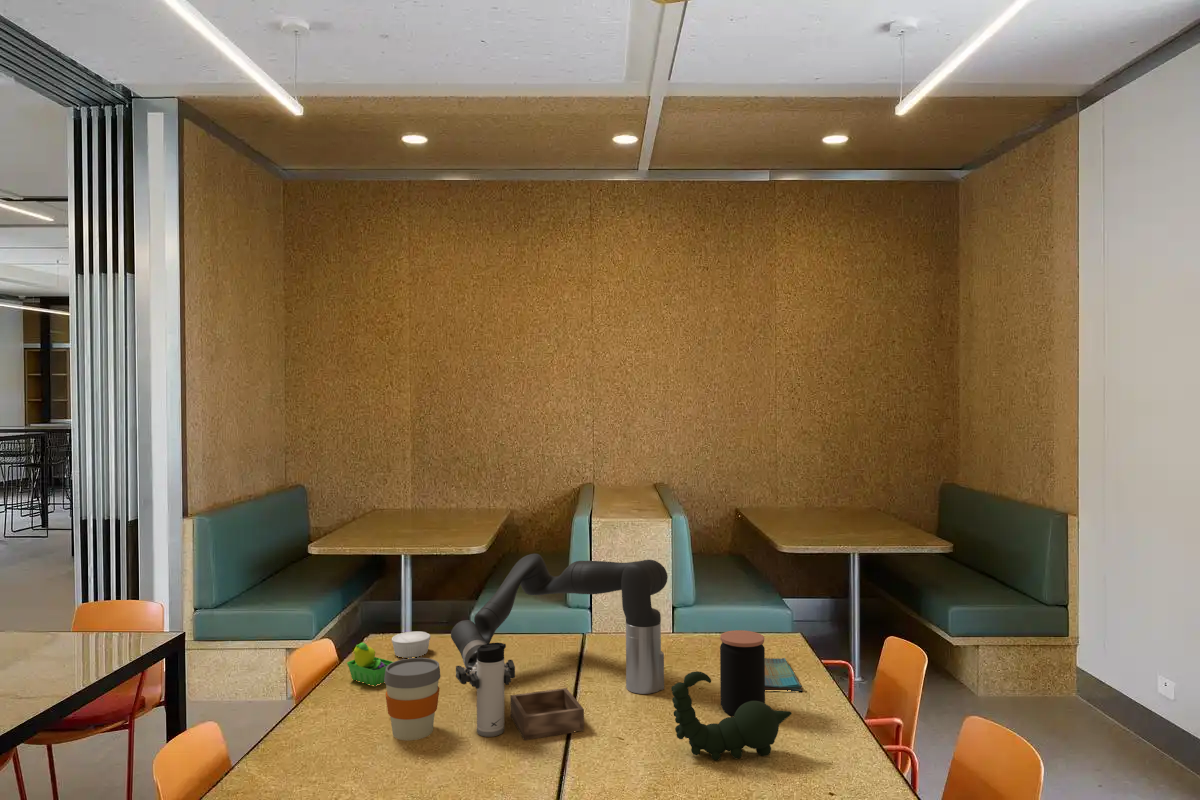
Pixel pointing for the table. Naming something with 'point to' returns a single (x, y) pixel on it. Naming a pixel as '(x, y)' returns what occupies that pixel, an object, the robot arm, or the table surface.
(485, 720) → the travel mug
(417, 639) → the ramekin
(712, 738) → the toy figurine
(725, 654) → the coffee jar
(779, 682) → the dish towel
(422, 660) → the reusable coffee cup
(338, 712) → the table surface
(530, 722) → the walnut crate
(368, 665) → the fruit basket
